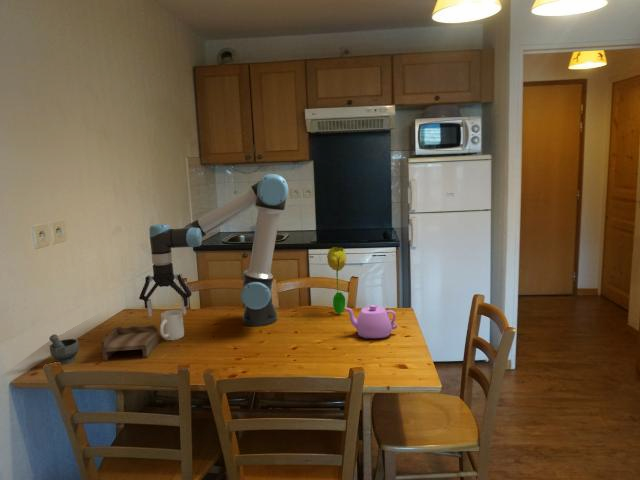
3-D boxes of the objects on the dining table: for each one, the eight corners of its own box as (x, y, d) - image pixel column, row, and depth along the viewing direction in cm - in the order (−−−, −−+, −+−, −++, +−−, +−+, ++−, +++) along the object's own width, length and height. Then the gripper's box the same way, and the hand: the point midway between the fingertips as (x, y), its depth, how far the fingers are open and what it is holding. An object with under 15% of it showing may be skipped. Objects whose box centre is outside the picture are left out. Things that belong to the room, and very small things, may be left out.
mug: (170, 345, 189) (167, 319, 187) (153, 343, 192) (150, 318, 190) (188, 334, 200) (185, 310, 198) (171, 333, 203) (169, 309, 201)
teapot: (396, 328, 192) (395, 299, 190) (398, 340, 179) (397, 310, 177) (346, 329, 194) (344, 301, 193) (344, 341, 181) (343, 311, 179)
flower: (329, 312, 217) (325, 247, 212) (347, 311, 218) (343, 245, 213) (331, 318, 208) (327, 250, 204) (350, 317, 209) (346, 249, 204)
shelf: (158, 342, 192) (156, 324, 191) (147, 357, 177) (144, 338, 176) (118, 345, 191) (115, 327, 190) (103, 361, 177) (100, 341, 175)
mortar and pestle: (62, 356, 184) (58, 326, 182) (86, 355, 183) (81, 325, 181) (43, 368, 173) (38, 336, 171) (68, 368, 172) (63, 336, 170)
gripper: (196, 259, 195) (200, 310, 198) (133, 262, 194) (139, 313, 197) (192, 263, 187) (196, 316, 191) (127, 266, 186) (132, 319, 190)
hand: (167, 315), depth 194 cm, fingers open, 13 cm apart
